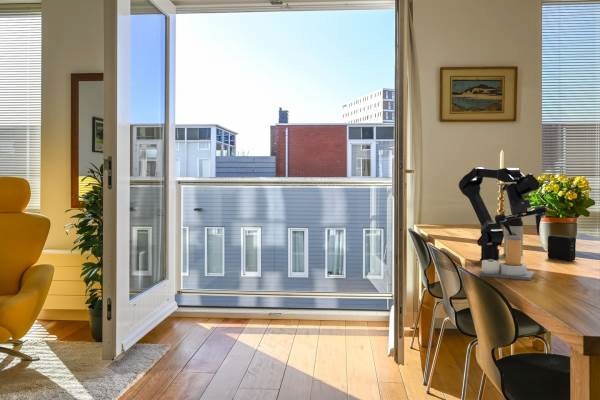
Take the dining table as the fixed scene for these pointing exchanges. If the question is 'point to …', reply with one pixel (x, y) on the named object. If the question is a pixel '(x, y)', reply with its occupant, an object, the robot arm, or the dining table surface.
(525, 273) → the housing
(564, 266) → the dining table surface
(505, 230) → the travel mug
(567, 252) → the electronic device
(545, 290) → the dining table surface
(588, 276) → the dining table surface
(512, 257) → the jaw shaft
